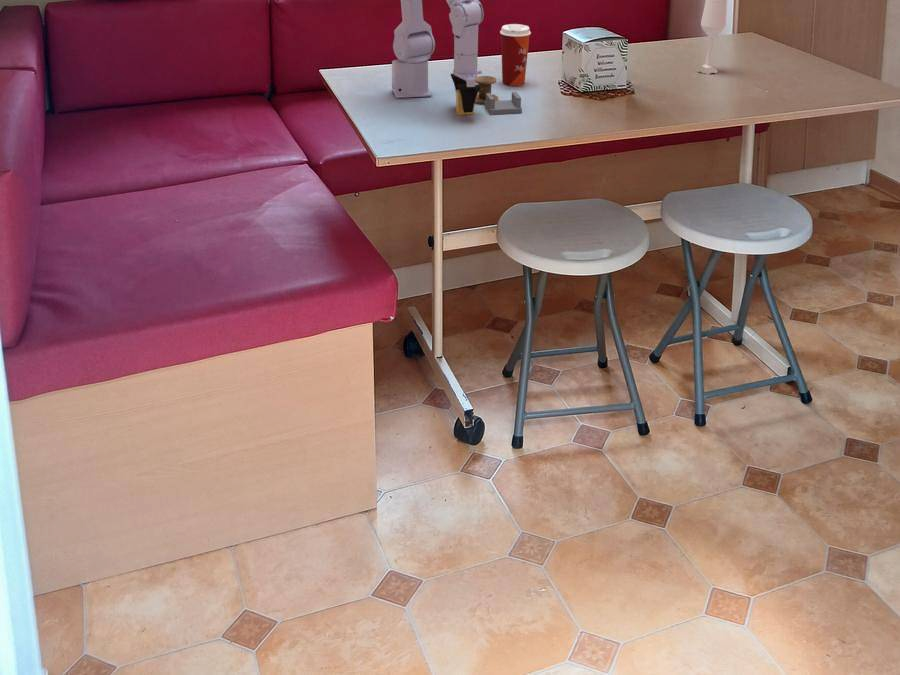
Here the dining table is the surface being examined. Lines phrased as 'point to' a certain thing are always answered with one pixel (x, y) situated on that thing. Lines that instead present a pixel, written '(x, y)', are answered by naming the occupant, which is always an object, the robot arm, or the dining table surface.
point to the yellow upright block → (460, 105)
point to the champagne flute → (713, 22)
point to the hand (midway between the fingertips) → (465, 107)
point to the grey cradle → (503, 105)
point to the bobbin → (484, 88)
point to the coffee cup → (514, 53)
